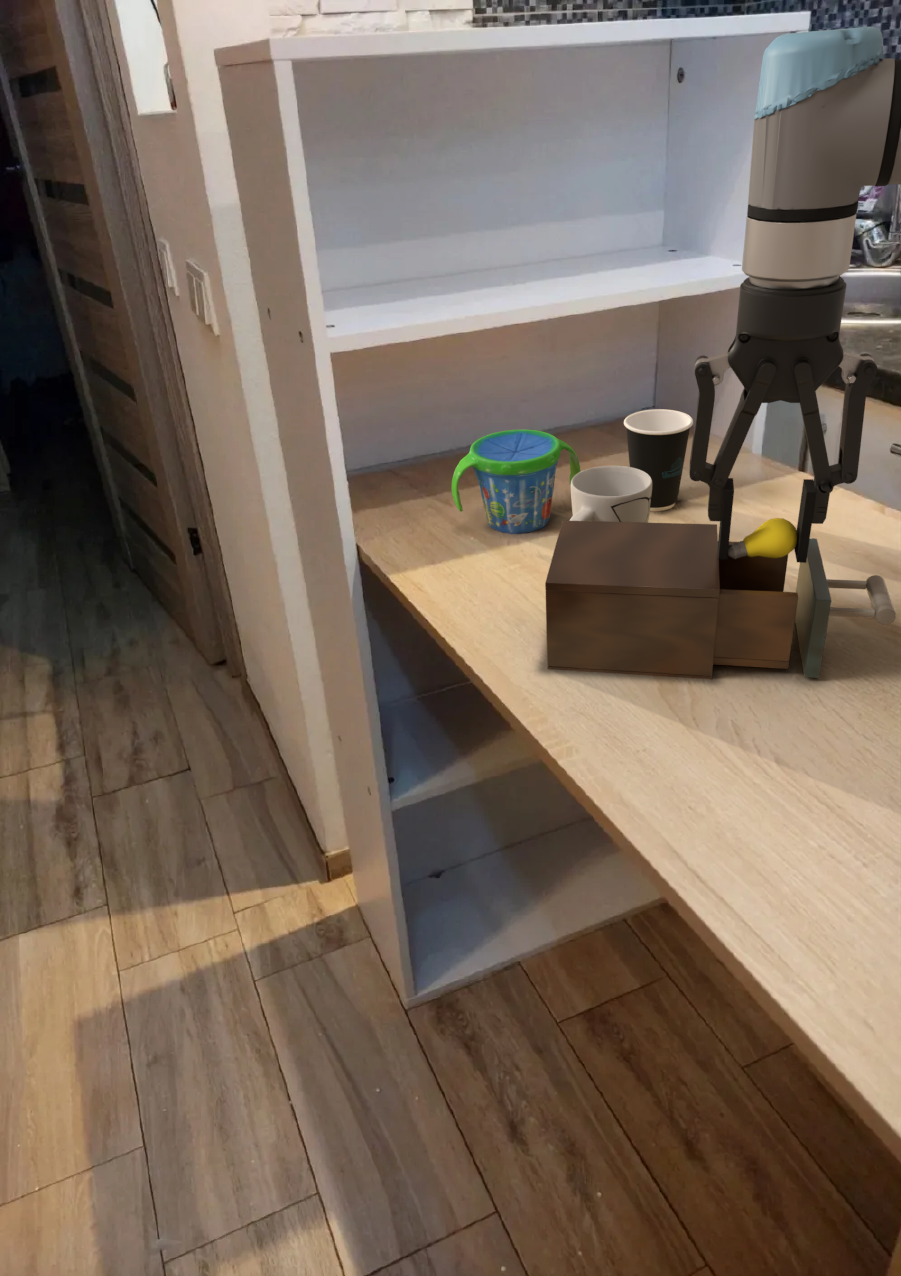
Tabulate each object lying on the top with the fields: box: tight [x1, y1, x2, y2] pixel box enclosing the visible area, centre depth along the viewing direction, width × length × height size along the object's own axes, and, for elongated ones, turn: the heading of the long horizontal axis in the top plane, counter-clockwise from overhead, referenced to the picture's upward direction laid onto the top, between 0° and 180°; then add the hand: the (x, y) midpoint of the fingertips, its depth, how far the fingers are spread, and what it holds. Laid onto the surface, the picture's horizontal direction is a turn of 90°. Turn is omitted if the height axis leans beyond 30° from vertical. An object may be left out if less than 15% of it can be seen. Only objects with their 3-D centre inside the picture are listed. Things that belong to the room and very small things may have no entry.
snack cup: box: [451, 429, 582, 535], centre depth 110 cm, size 16×10×10 cm
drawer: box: [713, 538, 897, 679], centre depth 84 cm, size 19×11×8 cm, turn 77°
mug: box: [568, 465, 652, 523], centre depth 99 cm, size 11×8×10 cm
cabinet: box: [544, 520, 720, 680], centre depth 86 cm, size 15×13×10 cm
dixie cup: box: [623, 408, 694, 512], centre depth 111 cm, size 8×8×11 cm
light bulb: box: [728, 517, 798, 559], centre depth 81 cm, size 3×6×4 cm, turn 90°
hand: (761, 553), depth 81 cm, fingers closed on light bulb, 6 cm apart
